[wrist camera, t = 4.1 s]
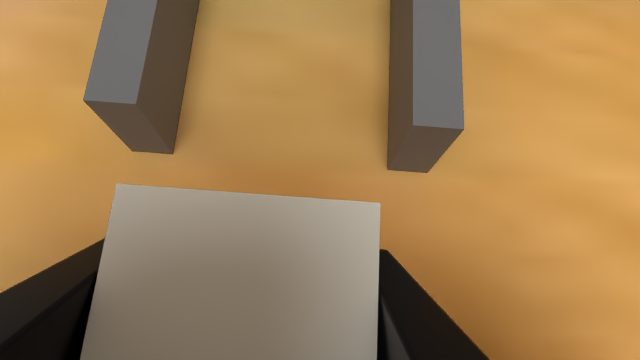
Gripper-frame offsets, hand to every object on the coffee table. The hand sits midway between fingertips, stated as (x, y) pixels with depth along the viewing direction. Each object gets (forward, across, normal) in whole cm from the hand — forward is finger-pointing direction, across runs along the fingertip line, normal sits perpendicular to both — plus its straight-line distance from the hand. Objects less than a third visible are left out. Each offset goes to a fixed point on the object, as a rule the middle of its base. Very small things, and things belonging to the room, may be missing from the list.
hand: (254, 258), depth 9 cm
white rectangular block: (+4, 0, +6) cm, 7 cm away
